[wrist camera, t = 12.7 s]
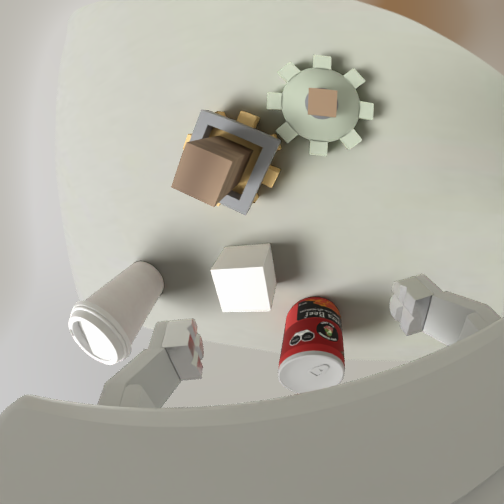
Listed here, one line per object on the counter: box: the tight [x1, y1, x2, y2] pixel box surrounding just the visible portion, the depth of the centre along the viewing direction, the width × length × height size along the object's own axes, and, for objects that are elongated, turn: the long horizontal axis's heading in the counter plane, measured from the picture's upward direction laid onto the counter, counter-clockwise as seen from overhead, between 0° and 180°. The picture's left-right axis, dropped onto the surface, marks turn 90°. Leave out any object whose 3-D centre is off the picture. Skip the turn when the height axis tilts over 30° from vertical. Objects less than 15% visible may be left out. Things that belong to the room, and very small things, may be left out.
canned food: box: [278, 297, 345, 393], centre depth 33 cm, size 8×8×11 cm
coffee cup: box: [69, 261, 164, 365], centre depth 35 cm, size 10×10×15 cm
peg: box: [172, 136, 254, 207], centre depth 24 cm, size 4×4×8 cm
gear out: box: [183, 110, 281, 215], centre depth 28 cm, size 11×11×4 cm
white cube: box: [211, 243, 277, 312], centre depth 34 cm, size 6×6×6 cm
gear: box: [267, 55, 374, 156], centre depth 24 cm, size 11×11×5 cm
